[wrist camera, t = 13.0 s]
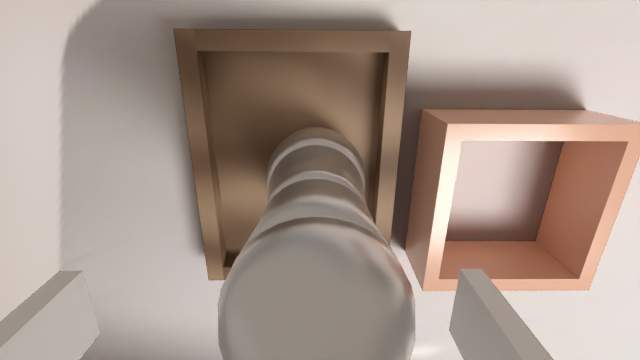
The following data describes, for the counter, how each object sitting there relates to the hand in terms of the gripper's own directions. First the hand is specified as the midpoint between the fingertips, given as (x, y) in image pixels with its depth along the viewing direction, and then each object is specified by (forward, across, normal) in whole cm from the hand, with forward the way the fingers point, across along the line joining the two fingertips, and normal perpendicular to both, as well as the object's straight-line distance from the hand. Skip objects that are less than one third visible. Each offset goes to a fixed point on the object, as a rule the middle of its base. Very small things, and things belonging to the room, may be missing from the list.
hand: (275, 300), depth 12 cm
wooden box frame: (+14, -15, +1) cm, 21 cm away
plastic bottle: (+14, -2, -1) cm, 14 cm away
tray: (+14, 0, -1) cm, 15 cm away
